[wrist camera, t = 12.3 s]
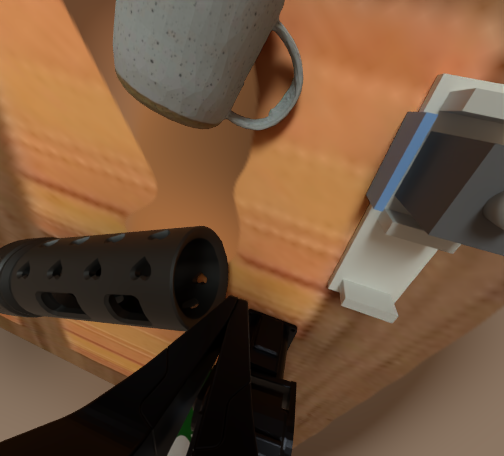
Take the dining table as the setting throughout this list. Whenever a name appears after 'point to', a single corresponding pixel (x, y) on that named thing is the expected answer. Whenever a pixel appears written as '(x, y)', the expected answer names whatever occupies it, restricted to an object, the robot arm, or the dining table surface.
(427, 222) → the dark grey knobbed block
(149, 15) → the ceramic mug
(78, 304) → the muzzle brake
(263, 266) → the dining table surface
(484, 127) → the white ridged plate
